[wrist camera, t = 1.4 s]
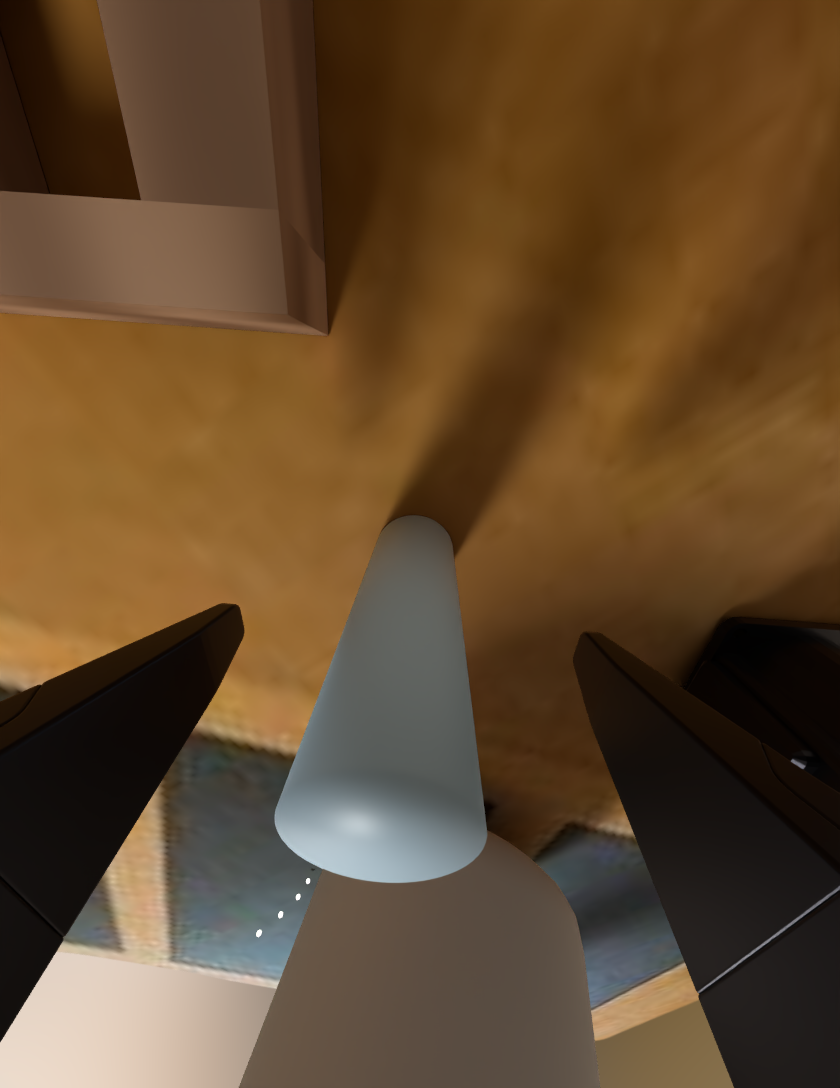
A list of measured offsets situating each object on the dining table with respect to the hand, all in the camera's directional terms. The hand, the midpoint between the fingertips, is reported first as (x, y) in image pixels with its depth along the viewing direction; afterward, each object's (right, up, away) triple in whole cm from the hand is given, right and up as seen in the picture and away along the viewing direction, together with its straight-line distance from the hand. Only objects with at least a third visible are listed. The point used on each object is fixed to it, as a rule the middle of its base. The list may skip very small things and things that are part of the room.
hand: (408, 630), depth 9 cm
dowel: (0, +2, +4) cm, 5 cm away
